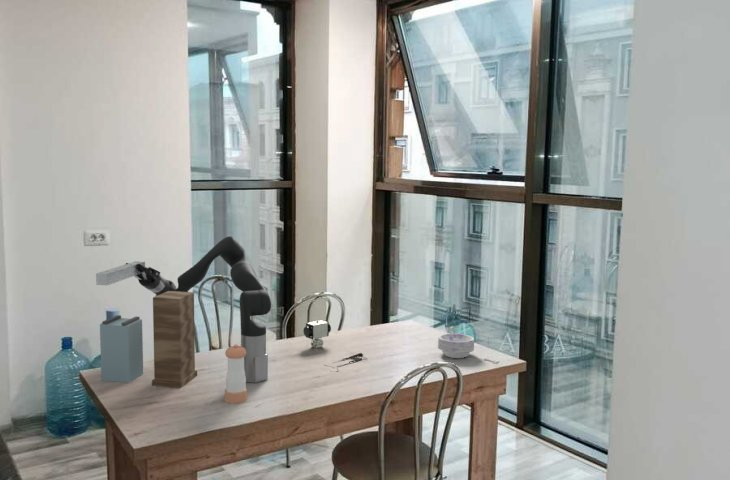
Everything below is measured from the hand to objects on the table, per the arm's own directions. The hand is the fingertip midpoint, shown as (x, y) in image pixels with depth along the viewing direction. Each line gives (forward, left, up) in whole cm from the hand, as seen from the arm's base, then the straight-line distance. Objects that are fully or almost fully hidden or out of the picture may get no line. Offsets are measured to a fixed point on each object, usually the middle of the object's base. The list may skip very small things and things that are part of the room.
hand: (132, 265), depth 248 cm
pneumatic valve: (-28, -71, -41) cm, 86 cm away
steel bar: (-3, +6, -3) cm, 8 cm away
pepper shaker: (-52, -7, -41) cm, 66 cm away
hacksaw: (-53, -63, -41) cm, 92 cm away
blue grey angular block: (-4, +7, -41) cm, 41 cm away
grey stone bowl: (-79, -103, -41) cm, 136 cm away
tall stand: (-21, -4, -41) cm, 46 cm away
